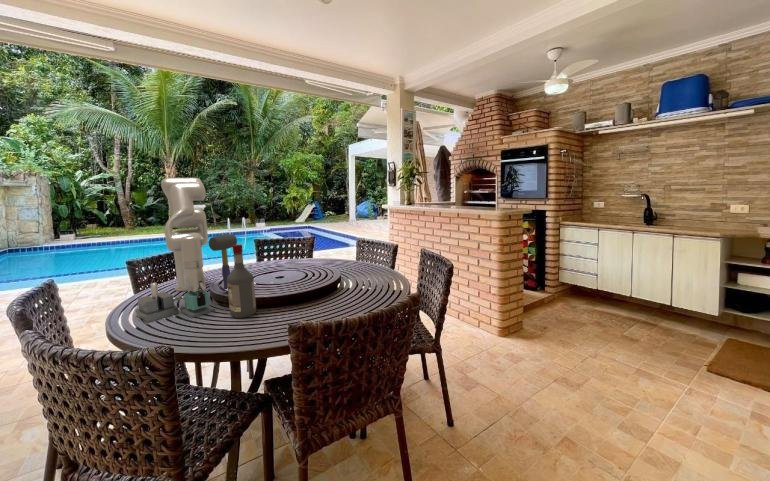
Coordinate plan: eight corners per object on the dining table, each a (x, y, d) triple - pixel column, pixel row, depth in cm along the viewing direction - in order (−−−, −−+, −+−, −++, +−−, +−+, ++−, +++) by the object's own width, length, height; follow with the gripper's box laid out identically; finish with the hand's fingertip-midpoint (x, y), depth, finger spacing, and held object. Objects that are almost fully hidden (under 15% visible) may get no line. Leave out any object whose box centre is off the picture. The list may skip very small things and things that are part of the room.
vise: (178, 304, 164) (174, 275, 162) (190, 310, 157) (186, 279, 154) (136, 316, 151) (132, 284, 149) (147, 322, 144) (143, 289, 141)
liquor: (249, 308, 158) (243, 242, 153) (258, 313, 151) (252, 245, 146) (228, 314, 151) (221, 245, 146) (237, 319, 145) (230, 248, 140)
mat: (204, 306, 162) (204, 304, 162) (215, 310, 156) (215, 308, 156) (181, 312, 154) (181, 310, 154) (192, 317, 148) (191, 315, 148)
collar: (201, 302, 159) (200, 289, 158) (209, 305, 155) (208, 292, 154) (185, 307, 154) (184, 294, 153) (193, 310, 150) (191, 297, 149)
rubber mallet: (223, 297, 174) (217, 237, 169) (212, 295, 177) (206, 236, 172) (242, 289, 185) (237, 233, 180) (232, 288, 188) (227, 232, 183)
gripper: (174, 263, 154) (179, 302, 157) (193, 269, 143) (198, 310, 146) (192, 260, 159) (196, 297, 162) (211, 265, 149) (216, 305, 152)
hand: (197, 303), depth 154 cm, fingers closed on collar, 7 cm apart
